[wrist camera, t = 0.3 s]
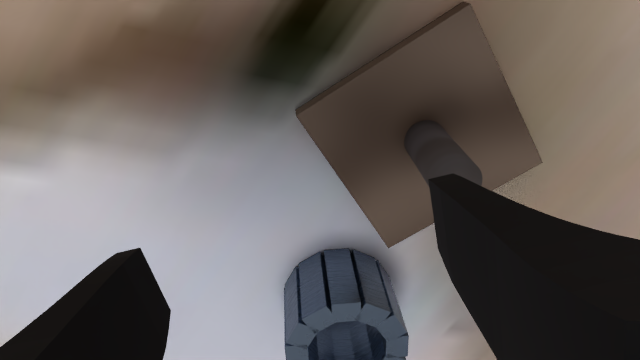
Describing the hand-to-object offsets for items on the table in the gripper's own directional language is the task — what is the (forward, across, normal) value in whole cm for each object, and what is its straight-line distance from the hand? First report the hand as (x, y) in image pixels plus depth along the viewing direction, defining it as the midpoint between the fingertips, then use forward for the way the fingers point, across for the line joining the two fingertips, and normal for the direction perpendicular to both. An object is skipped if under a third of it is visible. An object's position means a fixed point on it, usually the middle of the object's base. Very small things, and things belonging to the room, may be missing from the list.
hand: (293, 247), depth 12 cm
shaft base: (+10, -6, +2) cm, 11 cm away
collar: (+10, 0, +10) cm, 14 cm away
